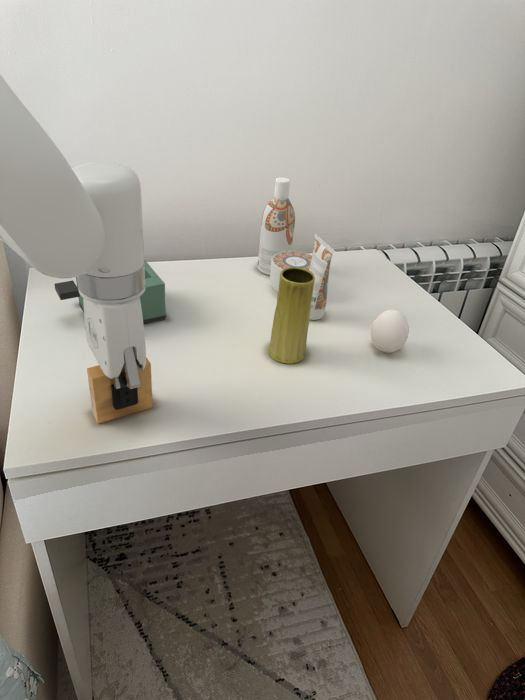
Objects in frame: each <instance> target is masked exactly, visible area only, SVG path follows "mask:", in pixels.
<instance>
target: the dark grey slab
mask: <svg viewBox="0 0 525 700" xmlns="http://www.w3.org/2000/svg"><path fill="white" fill-rule="evenodd" d="M53 285H54V290H55V292H56V294H57V296H58V298H59V300H60V301H64V300H69V299H75V298H78V297H80V293H79V290H78V288H77V283H76V282H75V281H74V280H67V281H62V282H61V281H60V282H55V283H53Z"/></svg>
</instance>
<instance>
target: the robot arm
mask: <svg viewBox="0 0 525 700" xmlns="http://www.w3.org/2000/svg"><path fill="white" fill-rule="evenodd" d="M141 186H142V185H141V180H140V178H139V175H138V174H137V173H136V171H135V170H133V169H132V168H131V167H129V166H127V165H125V164H121V163H118V162H112V161H90V162H85V163H81V164H77V165H75V166H74V167H72V166H71V165H70V162H68V160H67V159H66V157H65V155H64V154H63V153H62V152H61V150H60V148H58V146H57V145H56V144H55V142H54V141H53V139H52V138H51V136H50V135H49V134H48V133H47V132H46V130H45V129H44V128H43V127H42V125H41V124H40V123H39V122H38V121H37V119H36V117H34V115H33V114H32V113H31V112H30V111H29V110H28V108H27V107H26V105H24V103H23V102H22V101H21V100H20V98H19V97H18V96H17V94H16V93H15V91H13V89H12V88H11V86H10V85H9V84H8V82H7V81H6V80H5V79H4V77H3V76H2V75H1V74H0V241H1V242H2V243H3V244H5V246H7V247H8V248H9V249H10V250H12V251H13V252H15V253H16V254H17V255H18V256H19V257H21V258H22V259H23V260H24V261H25V262H26V264H28V265H30V267H32V268H33V269H35V270H36V271H37V272H39V273H41V274H42V275H45V276H48V277H51V278H55V279H72V278H76V277H77V283H78V290H79V293H80V295H81V296H82V297H83V304H84V312H83V318H84V330H85V338H86V342H87V344H88V347H89V349H90V351H91V353H92V355H93V356H94V358H95V361H96V362H97V364H98V365H99V366H100V367H101V369H102V371H103V373H104V374H105V375H106V376H107V377H108V378H111V379H112V378H113V382H114V384H113V385H111V388H112V398H113V407H114V409H115V410H119V409H122V408H126V407H129V406H133V405H136V404H137V403H138V390H137V387H140V380H139V375H138V370H137V366H138V367H139V369H140V370H143V369H144V368H145V366H146V357H147V348H146V335H145V334H146V333H145V324H143V316H142V309H141V302H140V296H141V295H142V294H143V293H144V291H145V288H146V287H145V266H144V260H145V247H144V227H143V226H144V224H143V204H142V203H143V202H142V187H141ZM77 283H76V284H77ZM136 364H137V365H136ZM121 372H125V373H126V375H125V376H121V377H119V375H120V373H121Z"/></svg>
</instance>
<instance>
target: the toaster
mask: <svg viewBox="0 0 525 700" xmlns="http://www.w3.org/2000/svg"><path fill="white" fill-rule="evenodd" d="M144 266H145V287H146V288H145V291H144V293H143V294H142V295H141V296H140V302H141V309H142V316H143V324H144V325H146V324H151V323H154V322H155V323H156V322H160V321H163V320H166V319H167V315H166V314H167V313H166V283H165V282H164V281H163V279H162V278H161V277H160V276H159V275H158V273H156V271H155V270H154V269H153V268H152V266H151V265H150V264H149V262H148V261H146V260H145V259H144ZM75 281H76V282H75V284H76V286H77V288H78V283H77V277H75ZM77 298H78V305H79V307H80V309H81V310H82V312H83V313H84V304H83V297H82V296H81V295H80V297H77Z"/></svg>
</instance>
